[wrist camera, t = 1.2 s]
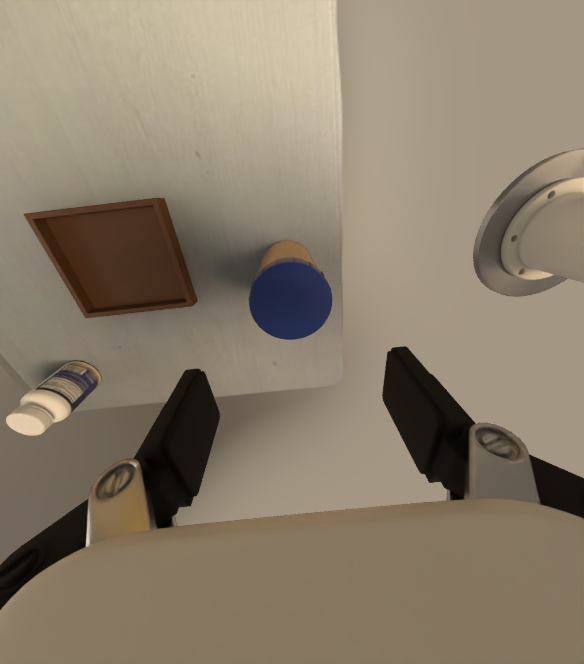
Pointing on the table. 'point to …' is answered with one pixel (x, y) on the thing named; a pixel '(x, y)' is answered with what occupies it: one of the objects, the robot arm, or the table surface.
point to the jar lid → (290, 298)
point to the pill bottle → (54, 398)
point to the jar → (286, 252)
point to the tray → (117, 256)
